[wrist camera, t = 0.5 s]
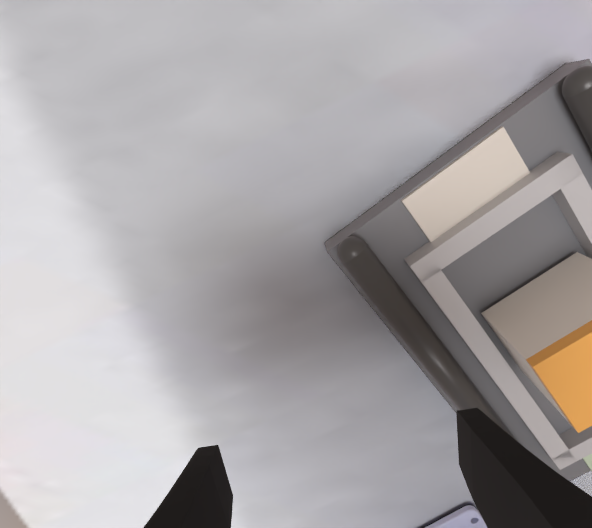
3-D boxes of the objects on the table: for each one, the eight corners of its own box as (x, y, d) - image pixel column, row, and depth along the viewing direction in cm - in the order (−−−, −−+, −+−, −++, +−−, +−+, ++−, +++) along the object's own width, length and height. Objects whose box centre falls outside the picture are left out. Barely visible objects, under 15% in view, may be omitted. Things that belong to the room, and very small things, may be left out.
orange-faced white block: (612, 313, 20) (699, 367, 16) (520, 368, 21) (578, 433, 17) (576, 251, 19) (660, 291, 15) (481, 313, 20) (532, 366, 16)
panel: (722, 374, 23) (779, 408, 21) (516, 483, 26) (543, 526, 23) (563, 59, 18) (613, 49, 15) (322, 239, 20) (327, 258, 18)
